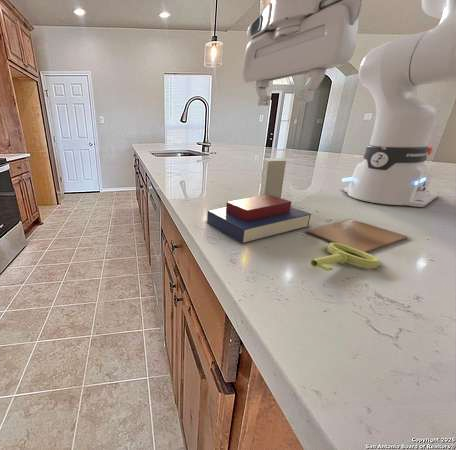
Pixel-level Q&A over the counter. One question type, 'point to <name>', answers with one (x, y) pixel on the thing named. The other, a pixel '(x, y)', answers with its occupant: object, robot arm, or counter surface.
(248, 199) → the red rectangular block
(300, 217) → the hardback
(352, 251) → the key
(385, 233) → the cork mat
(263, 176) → the cosmetic box
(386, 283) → the counter surface
